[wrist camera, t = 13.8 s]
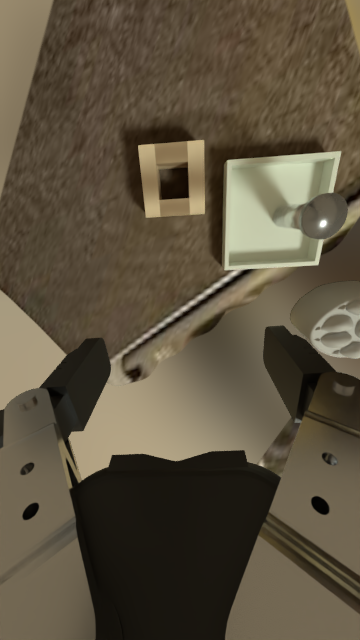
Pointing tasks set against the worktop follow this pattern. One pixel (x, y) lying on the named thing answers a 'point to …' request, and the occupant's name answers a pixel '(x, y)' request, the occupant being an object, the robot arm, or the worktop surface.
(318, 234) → the pin
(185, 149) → the frame
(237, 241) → the parts tray
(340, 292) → the lumpy-topped squat cylinder
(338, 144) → the worktop surface
